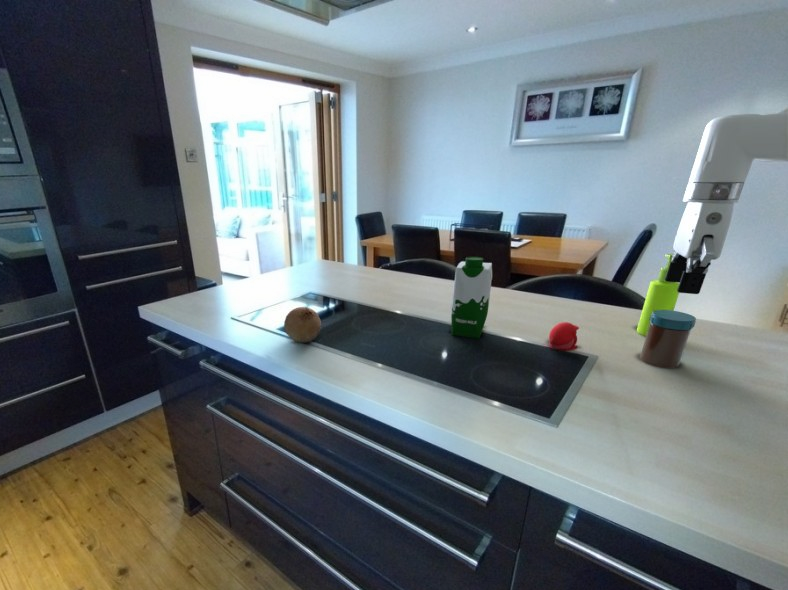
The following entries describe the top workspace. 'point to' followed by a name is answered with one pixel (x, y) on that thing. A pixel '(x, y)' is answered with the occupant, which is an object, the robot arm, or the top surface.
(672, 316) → the lid
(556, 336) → the cap
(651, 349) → the jar
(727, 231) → the robot arm
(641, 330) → the soap dispenser
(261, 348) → the top surface
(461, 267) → the milk carton
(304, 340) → the brown round piece
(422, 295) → the top surface
